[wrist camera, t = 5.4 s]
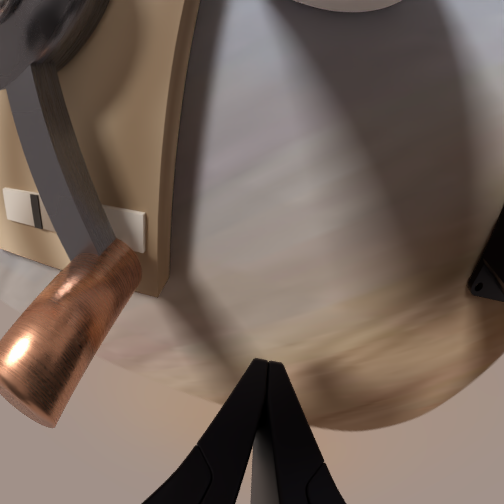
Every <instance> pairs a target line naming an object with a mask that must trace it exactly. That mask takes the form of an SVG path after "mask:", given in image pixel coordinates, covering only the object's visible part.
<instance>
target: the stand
mask: <svg viewBox="0 0 504 504" xmlns="http://www.w3.org/2000/svg"><path fill="white" fill-rule="evenodd" d="M199 4H200V0H110V1H109V4H108V6H107V8H106V10H105V12H104V14H103V16H102V18H101V20H100V22H99V23H98V25H97V27H96V29H95V30H94V32H93V33H92V35H91V36H90V38H89V39H88V41H87V42H86V43H85V44H84V46H83V47H82V48H81V50H80V51H79V52H78V53H77V54H76V55H75V56H74V58H73V59H72V60H71V61H70V62H69V63H68V64H67V65H65V66H64V67H63V68H62V69H61V70H59V71H58V72H57V74H58V78H59V82H60V85H61V89H62V93H63V96H64V100H65V103H66V107H67V110H68V113H69V117H70V120H71V123H72V126H73V129H74V132H75V135H76V138H77V141H78V144H79V147H80V150H81V153H82V155H83V158H84V161H85V164H86V166H87V169H88V172H89V174H90V177H91V179H92V182H93V184H94V187H95V189H96V192H97V194H98V197H99V199H100V202H101V204H102V206H103V209H104V211H105V213H106V216H107V218H108V220H109V223H110V225H111V227H112V229H113V231H114V234H115V236H116V238H118V239H119V240H121V241H123V242H124V243H126V244H127V245H128V246H129V247H130V248H131V249H132V250H133V251H134V252H135V254H136V255H137V257H138V259H139V261H140V263H141V267H142V279H141V282H140V284H139V285H138V287H137V288H136V290H135V292H139V293H142V294H146V295H150V296H154V297H157V298H158V296H159V294H160V293H161V291H162V289H163V287H164V286H165V284H166V282H167V280H168V279H169V264H170V235H171V215H172V199H173V185H174V173H175V162H176V151H177V142H178V133H179V124H180V116H181V108H182V101H183V93H184V87H185V80H186V73H187V67H188V61H189V55H190V50H191V44H192V39H193V33H194V28H195V23H196V18H197V14H198V9H199ZM0 249H3V250H6V251H8V252H11V253H14V254H17V255H19V256H22V257H25V258H28V259H31V260H34V261H37V262H40V263H43V264H46V265H49V266H52V267H55V268H58V269H61V270H63V269H64V268H65V267H66V266H67V265H68V264H69V263H70V262H71V261H70V259H69V257H68V255H67V253H66V251H65V249H64V248H63V246H62V243H61V241H60V239H59V237H58V235H57V233H56V231H55V229H54V227H53V225H52V223H51V220H50V218H49V216H48V214H47V211H46V209H45V207H44V204H43V202H42V200H41V197H40V195H39V192H38V190H37V187H36V185H35V182H34V180H33V177H32V174H31V172H30V169H29V166H28V163H27V161H26V158H25V155H24V152H23V149H22V146H21V143H20V139H19V136H18V133H17V130H16V126H15V123H14V119H13V115H12V112H11V108H10V104H9V100H8V95H7V91H6V89H4V90H0Z"/></svg>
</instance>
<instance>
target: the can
mask: <svg viewBox="0 0 504 504" xmlns="http://www.w3.org/2000/svg"><path fill="white" fill-rule="evenodd" d="M294 1H296V2H299V3H302V4H305V5H308V6H312V7H315V8H319V9H324V10H330V11H337V12H367V11H373V10H378V9H382V8H386V7H389V6H391V5H394V4H396V3H398V2H400V1H402V0H294Z"/></svg>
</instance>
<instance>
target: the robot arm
mask: <svg viewBox="0 0 504 504" xmlns="http://www.w3.org/2000/svg"><path fill="white" fill-rule="evenodd" d="M477 284H478V285H477ZM468 289H469V290H470V292H471V294H473V295H475V296H479V297H484V298H489V299H493V300H498V301H502V302H504V207H503V210H502V212H501V215H500V217H499V220H498V222H497V224H496V227H495V229H494V231H493V233H492V236H491V238H490V240H489V242H488V244H487V246H486V248H485V251H484V253H483V255H482V257H481V259H480V261H479V263H478V264H477V266H476V268H475V270H474V272H473V274H472V276H471V278H470V279H469V282H468ZM252 446H253V459H252V483H251V504H346V503H345V501H344V499H343V498H342V496H341V494H340V492H339V491H338V489H337V487H336V485H335V483H334V481H333V479H332V477H331V475H330V472H329V470H328V468H327V466H326V464H325V463H323V462H324V459H323V456H322V454H321V452H320V450H319V447H318V445H317V443H316V440H315V438H314V436H313V433H312V431H311V429H310V426H309V424H308V422H307V419H306V417H305V415H304V412H303V410H302V408H301V405H300V403H299V401H298V398H297V396H296V393H295V391H294V389H293V386H292V384H291V382H290V379H289V377H288V374H287V372H286V370H285V367H284V365H283V364H282V363H281V362H275V361H269V362H268V361H267V360H264V359H259V358H255V359H253V361H252V362H251V364H250V365H249V367H248V369H247V370H246V372H245V373H244V375H243V376H242V378H241V379H240V381H239V382H238V384H237V385H236V387H235V388H234V390H233V391H232V393H231V395H230V396H229V398H228V399H227V400H226V402H225V403H224V405H223V406H222V408H221V410H220V411H219V412H218V414H217V415H216V417H215V418H214V420H213V421H212V423H211V424H210V425H209V427H208V428H207V430H206V431H205V433H204V434H203V435H202V437H201V438H200V440H199V441H198V443H197V445H196V446H195V447H194V448H193V449H192V451H191V452H190V454H189V455H188V456H187V457H186V459H185V460H184V461H183V463H182V464H181V465H180V466H179V468H178V469H177V470H176V471H175V472H174V473H173V474H172V475H171V476H170V477H169V478H168V479H167V480H166V481H165V482H164V483H163V484H162V485H161V486H160V487H159V488H158V489H157V490H156V491H155V492H154V493H153V494H151V495H150V496H149V497H148V498H147V499H146V500H145V501H144V502H143V503H142V504H235V502H236V499H237V496H238V493H239V490H240V486H241V483H242V480H243V477H244V473H245V470H246V467H247V464H248V460H249V457H250V453H251V450H252Z"/></svg>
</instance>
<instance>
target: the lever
mask: <svg viewBox="0 0 504 504" xmlns="http://www.w3.org/2000/svg"><path fill="white" fill-rule="evenodd" d="M109 1H110V0H0V90H4V89H6V91H7V95H8V100H9V104H10V108H11V112H12V115H13V119H14V123H15V126H16V130H17V133H18V136H19V139H20V143H21V146H22V149H23V152H24V155H25V158H26V161H27V163H28V166H29V169H30V172H31V174H32V177H33V180H34V182H35V185H36V187H37V190H38V192H39V195H40V197H41V200H42V202H43V204H44V207H45V209H46V211H47V214H48V216H49V218H50V220H51V223H52V225H53V227H54V229H55V231H56V233H57V235H58V237H59V239H60V241H61V243H62V246H63V248H64V249H65V251H66V253H67V255H68V257H69V259H70V261H71V262H70V263H69V264H68V265H67V266H66V267H65V268H64V269H63V270H62V271H61V272H60V273H59V274H58V275H57V276H56V277H55V278H54V279H53V280H52V281H51V282H50V283H49V285H48V286H47V287H46V288H45V289H44V290H43V291H42V292H41V293H40V294H39V295H38V296H37V298H36V299H35V300H34V301H33V302H32V303H31V304H30V305H29V307H28V308H27V309H26V310H25V311H24V312H23V314H22V315H21V316H20V317H19V318H18V319H17V321H16V322H15V323H14V324H13V325H12V327H11V328H10V329H9V330H8V332H7V333H6V334H5V335H4V337H3V338H2V339H1V341H0V394H1V395H2V396H3V397H4V398H5V399H6V400H7V401H8V402H9V403H10V404H12V405H13V406H14V407H15V408H16V409H18V410H19V411H20V412H22V413H23V414H24V415H26V416H27V417H29V418H30V419H32V420H34V421H35V422H37V423H39V424H41V425H44V426H46V427H49V428H54V427H55V426H56V424H57V422H58V420H59V418H60V416H61V414H62V412H63V411H64V409H65V407H66V405H67V403H68V401H69V399H70V397H71V395H72V394H73V392H74V390H75V388H76V386H77V385H78V383H79V381H80V379H81V378H82V376H83V374H84V372H85V370H86V369H87V367H88V365H89V364H90V362H91V360H92V359H93V357H94V355H95V354H96V352H97V350H98V348H99V347H100V345H101V343H102V342H103V340H104V339H105V337H106V335H107V334H108V332H109V330H110V329H111V327H112V326H113V324H114V322H115V321H116V319H117V318H118V316H119V314H120V313H121V311H122V310H123V308H124V307H125V305H126V304H127V302H128V301H129V299H130V297H131V296H132V294H133V293H134V291H135V290H136V288H137V287H138V285H139V284H140V282H141V279H142V267H141V263H140V261H139V259H138V257H137V255H136V254H135V252H134V251H133V250H132V249H131V248H130V247H129V246H128V245H127V244H126V243H124V242H123V241H121V240H119V239H118V238H116V236H115V234H114V231H113V229H112V227H111V225H110V223H109V220H108V218H107V216H106V213H105V211H104V209H103V206H102V204H101V202H100V199H99V197H98V194H97V192H96V189H95V187H94V184H93V182H92V179H91V177H90V174H89V172H88V169H87V166H86V164H85V161H84V158H83V155H82V153H81V150H80V147H79V144H78V141H77V138H76V135H75V132H74V129H73V126H72V123H71V120H70V117H69V113H68V110H67V107H66V103H65V100H64V96H63V93H62V89H61V85H60V82H59V78H58V74H57V72H58V71H59V70H61V69H62V68H63V67H64V66H65V65H67V64H68V63H69V62H70V61H71V60H72V59H73V58H74V56H75V55H76V54H77V53H78V52H79V51H80V50H81V48H82V47H83V46H84V44H85V43H86V42H87V41H88V39H89V38H90V36H91V35H92V33H93V32H94V30H95V29H96V27H97V25H98V23H99V22H100V20H101V18H102V16H103V14H104V12H105V10H106V8H107V6H108V4H109Z"/></svg>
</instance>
